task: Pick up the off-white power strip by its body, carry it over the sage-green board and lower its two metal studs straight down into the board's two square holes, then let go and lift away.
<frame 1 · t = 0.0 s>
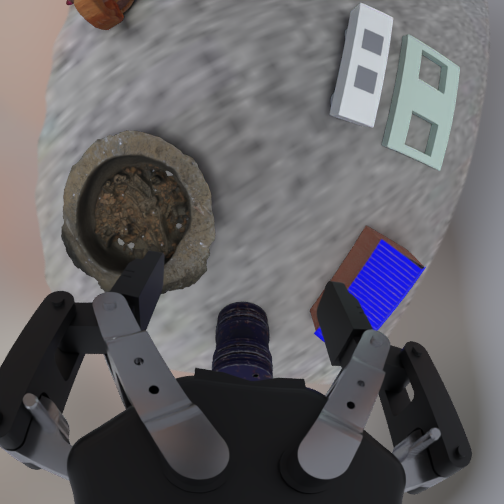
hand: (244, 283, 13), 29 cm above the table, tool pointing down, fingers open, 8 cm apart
house: (359, 279, 49), on the table
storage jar: (242, 320, 52), on the table
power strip: (350, 68, 31), on the table
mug: (121, 11, 25), on the table
hole board: (422, 101, 33), on the table
stone bowl: (143, 204, 41), on the table
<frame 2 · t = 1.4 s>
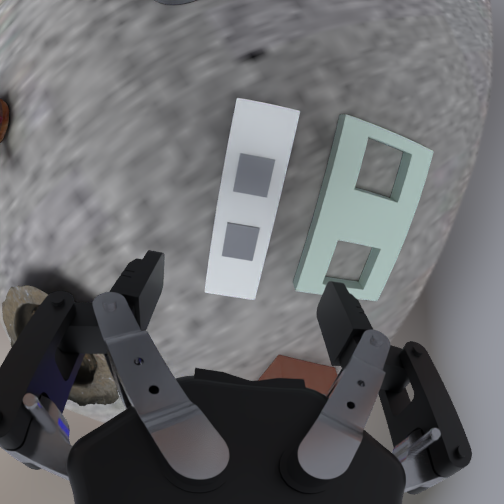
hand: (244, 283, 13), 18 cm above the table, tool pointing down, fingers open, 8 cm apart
house: (280, 390, 46), on the table
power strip: (246, 189, 29), on the table
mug: (4, 133, 23), on the table
hole board: (362, 214, 30), on the table
stone bowl: (68, 326, 39), on the table
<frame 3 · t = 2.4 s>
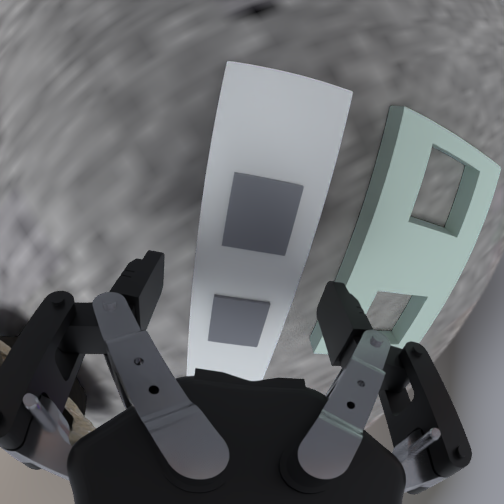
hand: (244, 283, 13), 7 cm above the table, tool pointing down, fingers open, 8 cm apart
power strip: (246, 219, 19), on the table
hole board: (409, 251, 20), on the table
stone bowl: (41, 366, 29), on the table
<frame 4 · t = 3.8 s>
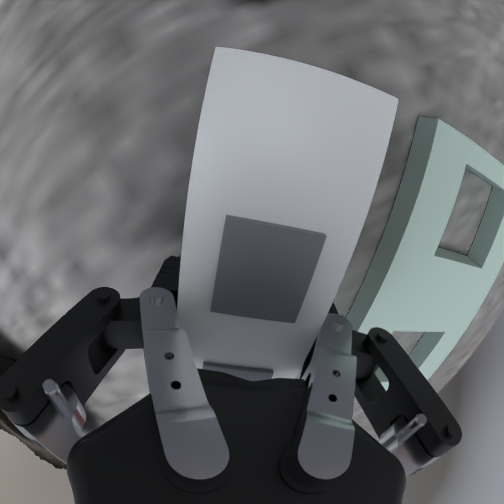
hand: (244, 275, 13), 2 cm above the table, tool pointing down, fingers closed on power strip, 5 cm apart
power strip: (245, 253, 16), on the table, touching gripper
hole board: (428, 284, 17), on the table
stone bowl: (31, 386, 25), on the table
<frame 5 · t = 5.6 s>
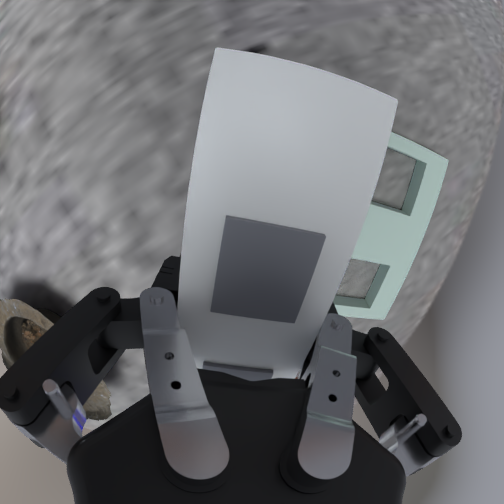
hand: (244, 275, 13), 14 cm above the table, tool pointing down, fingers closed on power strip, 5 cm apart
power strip: (245, 253, 16), point 12 cm above the table, touching gripper
hole board: (371, 229, 28), on the table
stone bowl: (59, 339, 36), on the table
when the fingers open (4 cm above the table, at t = 9.6 s): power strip drops 1 cm, on the table.
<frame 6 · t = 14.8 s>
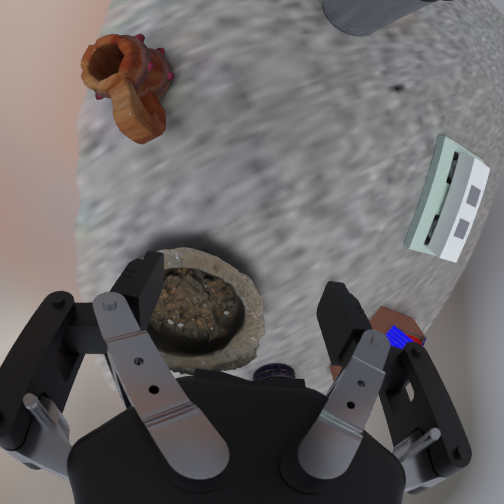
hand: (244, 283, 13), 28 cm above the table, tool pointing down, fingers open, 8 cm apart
house: (371, 342, 55), on the table
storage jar: (273, 375, 59), on the table
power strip: (444, 199, 40), on the table
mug: (156, 92, 32), on the table
hole board: (444, 199, 40), on the table
stone bowl: (193, 295, 48), on the table
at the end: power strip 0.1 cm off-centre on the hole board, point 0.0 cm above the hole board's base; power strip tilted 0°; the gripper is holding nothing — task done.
